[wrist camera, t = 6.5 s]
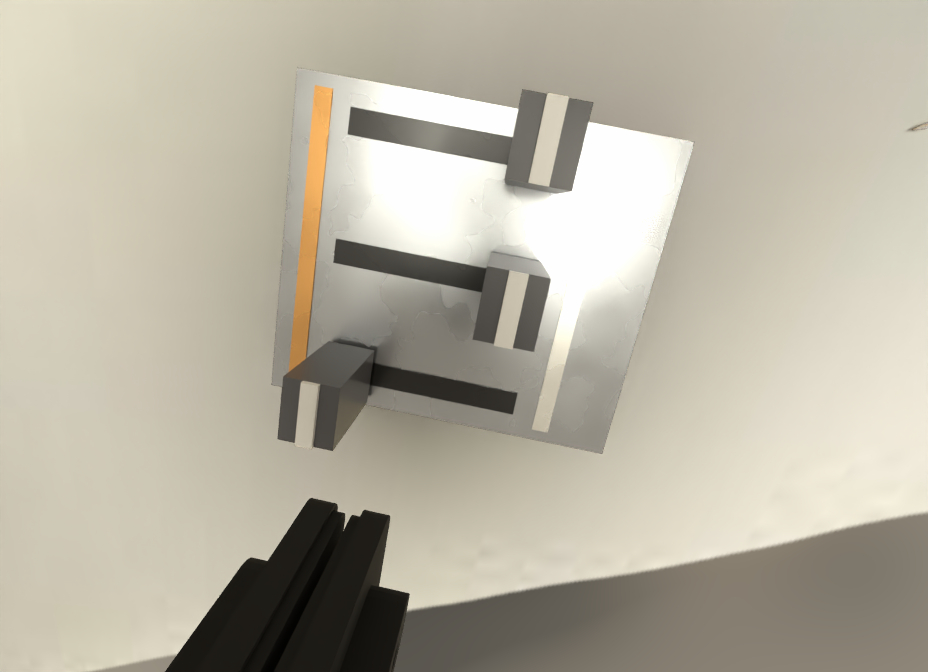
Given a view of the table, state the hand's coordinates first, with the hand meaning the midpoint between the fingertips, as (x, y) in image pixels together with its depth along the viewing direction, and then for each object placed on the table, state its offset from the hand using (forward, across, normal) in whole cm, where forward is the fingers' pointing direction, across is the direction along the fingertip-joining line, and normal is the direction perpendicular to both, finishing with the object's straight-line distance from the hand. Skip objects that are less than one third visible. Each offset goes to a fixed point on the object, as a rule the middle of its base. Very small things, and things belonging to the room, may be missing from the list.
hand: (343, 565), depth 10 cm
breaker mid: (+12, -2, -4) cm, 13 cm away
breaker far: (+12, +4, +1) cm, 12 cm away
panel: (+13, 0, -4) cm, 14 cm away
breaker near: (+12, -2, -9) cm, 15 cm away
